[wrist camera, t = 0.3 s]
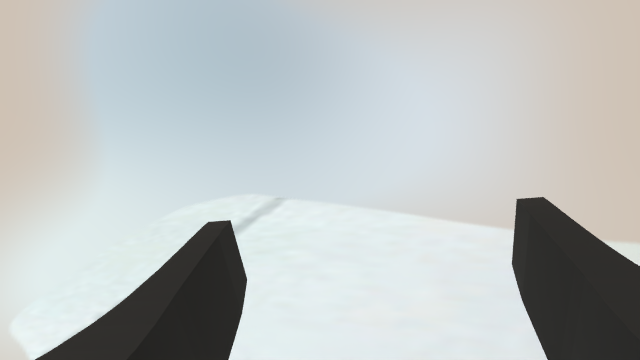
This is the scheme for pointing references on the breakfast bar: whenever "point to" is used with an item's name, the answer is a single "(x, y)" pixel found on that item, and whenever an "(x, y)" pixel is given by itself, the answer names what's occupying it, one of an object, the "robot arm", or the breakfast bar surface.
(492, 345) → the breakfast bar surface
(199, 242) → the robot arm
